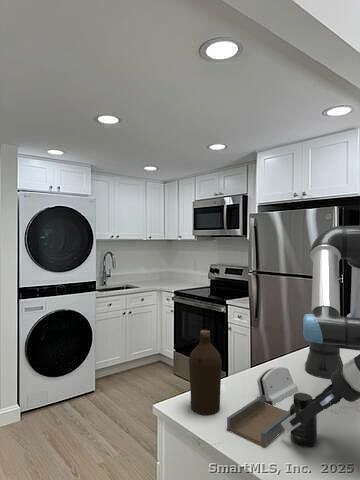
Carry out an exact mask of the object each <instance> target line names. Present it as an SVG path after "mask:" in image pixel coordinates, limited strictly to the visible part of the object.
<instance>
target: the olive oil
mask: <svg viewBox="0 0 360 480" xmlns="http://www.w3.org/2000/svg"><path fill="white" fill-rule="evenodd" d="M199 333H200V334H199V343H198V344H197V345H196V346H195V348H194V349H192V351H191V352H190V355H189V359H188V367H189V368H188V370H189V387H190V390H189V391H190V409H191V410H192V411H193V413H195V414H198V415H201V416H202V415H203V416H210V415H211V416H212V415H215V414H217V413H218V412H219V411H220V410H221V384H222V377H221V376H222V366H223V365H222V364H223V363H222V361H223V360H222V357H221V353H220V352H219V351H218V350H217V348H216V347H215V346H214V345H213V344H212V343H211V331H210V330H208V329H202V330H200V331H199Z"/></svg>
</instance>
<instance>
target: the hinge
mask: <svg viewBox="0 0 360 480" xmlns="http://www.w3.org/2000/svg"><path fill="white" fill-rule="evenodd" d="M256 383H257V387H258V394H259V397H260V396H261V395H265V402H271V404H272V406H273V405H274V406H276V405H277V404H276V403H278V402H279V403H281V402H283V401H284V399H285V398H286V399H288V398H289V396H290V397H292V396H294V393H296V392H297V393H299V388H298V386H297V385H296V384H295V382H294V380H293V378H292V375H291V373H290V370H289V368H288V367H282V366H277V367H271V368H269V369H266V370H264V371H263V372H262V373H261V374H260V375H259V376H258V378H257V379H256ZM287 397H288V398H287ZM286 399H285V400H286ZM282 400H283V401H282ZM280 401H281V402H280ZM279 403H278V404H279ZM275 404H276V405H275Z"/></svg>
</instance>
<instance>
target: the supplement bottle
mask: <svg viewBox="0 0 360 480" xmlns="http://www.w3.org/2000/svg"><path fill="white" fill-rule="evenodd" d="M312 399H313V396H311V394H308V393H305V392H297V393H295V394H293V400H292V401H293V403H292V404H291V405H290V406H289V410H290V416H292V415H293V414H295V410H296V409H297V410H298V411H301V410H302V409H303V408H305V407H306V406H308V405H309V404H310V403H312ZM317 415H318V414H317ZM317 415H315V416H314V417H312V418H311V419H309V420H308V421H306V422H305V423H304V424H301V425H299V426H298V427H296V428H295V429H293V430H291V431H290V432H289V434H290V438H291V441H292V442H293V443H294V444H295V445H298V446H299V447H303V448H312V447H315V446H316V444H317V443H318V421H317V420H318V417H317Z"/></svg>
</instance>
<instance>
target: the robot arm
mask: <svg viewBox="0 0 360 480" xmlns="http://www.w3.org/2000/svg"><path fill="white" fill-rule="evenodd" d="M309 253H310V254H309V258H310V260H311V262H312V285H311V286H312V287H311V288H312V290H311V313H306V314H304V315H303V321H302V324H303V325H302V326H303V327H302V329H303V330H302V331H303V333H302V334H303V338H304V340H305V341H306V342H309V347H308V350H309V351H308V354H307V357H306V361H305V362H304V371H306V373H308V374H310V375H311V376H315V377H317V378H322V379H329V380H330V382H331V383H330V384H329V385H328V386H327V387H326V388H324V389H323V390H322V392H320V393H319V394H318V395H316V396H315V397H314V398H312V403H310V404H309V405H308V406H306V407H305V408H303V409H302V410H301V411H298V410H297V409H296V410H295V414H293V415H292V416H290V417H289V418H288V419H286V420H285V421H283V422H282V423H281V424H282V426H283V427H284V429H285V430H284V431H286V433H287V434H289V433H290V431H291V430H293V429H295V428H296V427H298V426H299V425H301V424H304V423H305V422H306V421H308V420H309V419H311V418H312V417H314V416H315V415H318V414H319V413H321V412H323V411H324V410H327V409H329V408H330V407H332V406H333V405H336V404H338V403H339V402H340V401H341V400H342V399H344V400H345V401H347V402H350V403H354V402H356V401H358V400H359V399H360V353H359V354H358V355H357V356H354V357H353V358H351V359H350V360H349V361H347V362H346V363H344V364H343V360H342V357H341V349H342V350H350V351H351V350H352V351H358V352H359V351H360V225H339V226H338V225H336V226H332V227H329V228H327V229H325V230H324V231H322V232H321V233H320V234H319V235H318V236H317V237H316V238H315V239H314V241H313V243H312V245H311V247H310V252H309ZM340 260H347V264H348V265H349V266H351V283H350V284H351V287H350V288H351V291H350V292H351V293H350V313H348V314H347V315H346V316H341V306H340V304H341V303H340V287H339V286H340V284H339V283H340V282H339V264H338V263H339V262H340Z"/></svg>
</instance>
